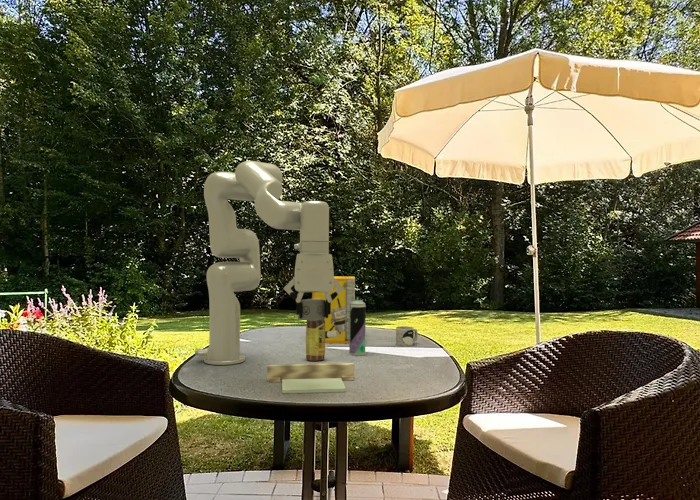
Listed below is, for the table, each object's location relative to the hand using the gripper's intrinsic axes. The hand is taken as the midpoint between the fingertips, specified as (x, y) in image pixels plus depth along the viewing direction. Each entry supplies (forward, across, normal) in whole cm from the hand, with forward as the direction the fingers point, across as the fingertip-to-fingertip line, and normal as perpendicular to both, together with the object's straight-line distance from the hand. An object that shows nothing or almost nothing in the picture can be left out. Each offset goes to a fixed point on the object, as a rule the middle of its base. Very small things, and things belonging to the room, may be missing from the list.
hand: (313, 316), depth 140 cm
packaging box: (+19, +13, +72) cm, 76 cm away
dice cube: (+1, 0, 0) cm, 1 cm away
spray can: (+19, +18, +42) cm, 50 cm away
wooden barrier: (+18, 0, +8) cm, 20 cm away
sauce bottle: (+19, +3, +34) cm, 39 cm away
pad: (+18, 0, 0) cm, 18 cm away
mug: (+19, +40, +60) cm, 74 cm away
